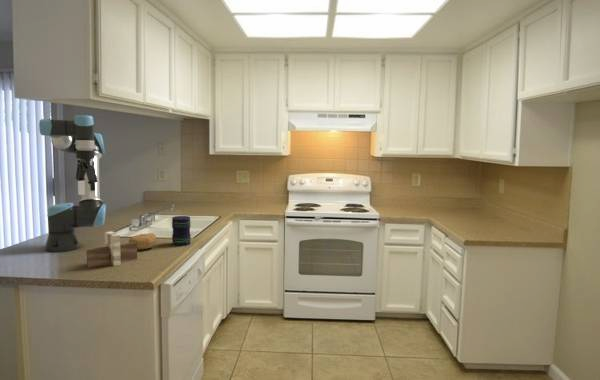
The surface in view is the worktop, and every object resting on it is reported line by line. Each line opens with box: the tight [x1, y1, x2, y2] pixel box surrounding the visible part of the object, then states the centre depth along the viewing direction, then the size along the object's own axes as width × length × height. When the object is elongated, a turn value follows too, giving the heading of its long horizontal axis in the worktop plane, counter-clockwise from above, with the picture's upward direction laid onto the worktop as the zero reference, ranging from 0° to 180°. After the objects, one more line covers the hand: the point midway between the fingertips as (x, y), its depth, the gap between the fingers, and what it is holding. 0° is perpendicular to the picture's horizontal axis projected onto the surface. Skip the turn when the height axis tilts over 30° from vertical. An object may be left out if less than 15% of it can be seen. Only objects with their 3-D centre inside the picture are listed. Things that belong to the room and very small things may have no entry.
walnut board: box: [85, 242, 138, 269], centre depth 189 cm, size 2×22×8 cm, turn 136°
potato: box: [128, 232, 157, 251], centre depth 213 cm, size 10×14×8 cm
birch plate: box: [104, 230, 122, 267], centre depth 188 cm, size 10×3×14 cm, turn 46°
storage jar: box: [171, 215, 192, 247], centre depth 225 cm, size 10×10×15 cm
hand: (86, 196), depth 187 cm, fingers open, 13 cm apart
